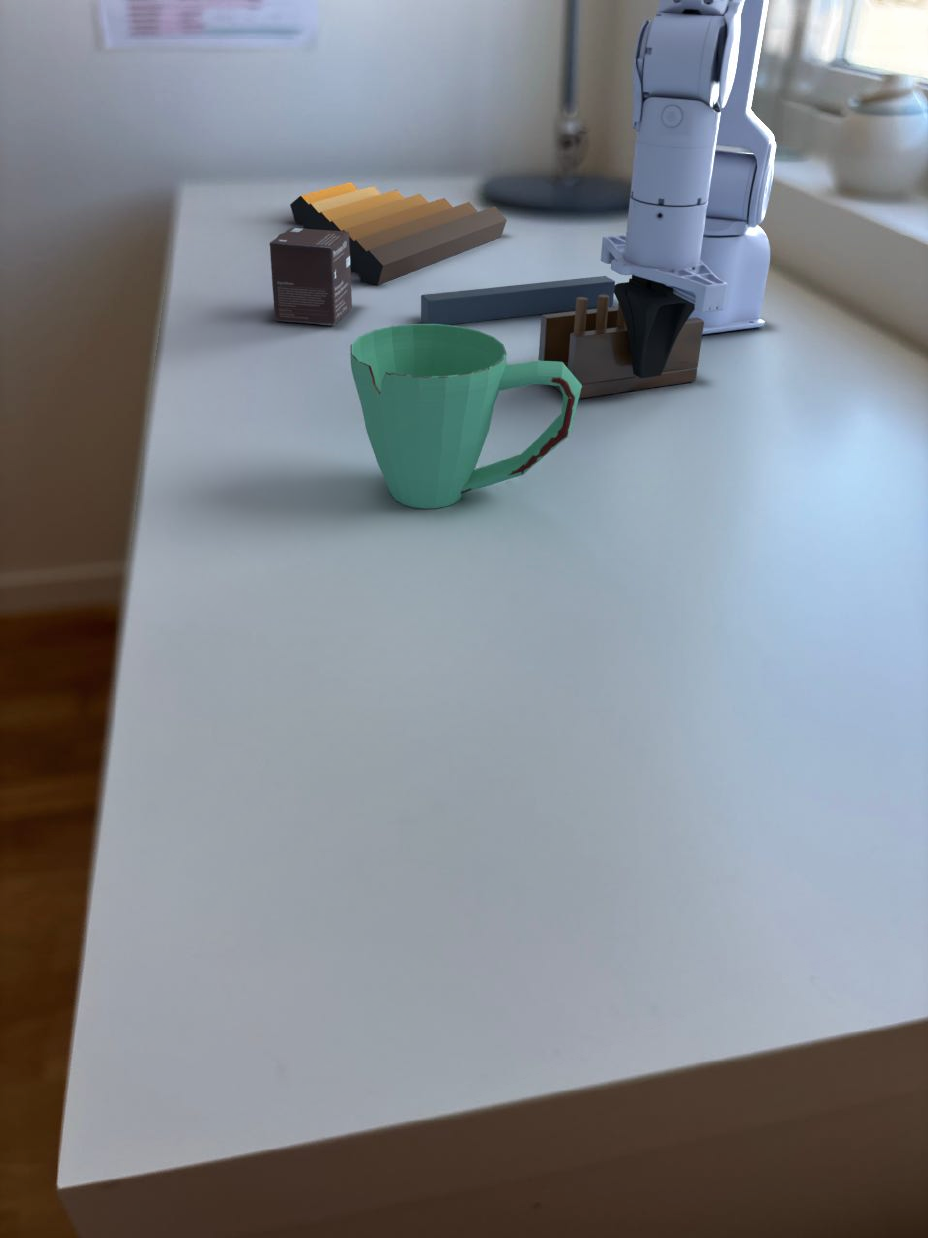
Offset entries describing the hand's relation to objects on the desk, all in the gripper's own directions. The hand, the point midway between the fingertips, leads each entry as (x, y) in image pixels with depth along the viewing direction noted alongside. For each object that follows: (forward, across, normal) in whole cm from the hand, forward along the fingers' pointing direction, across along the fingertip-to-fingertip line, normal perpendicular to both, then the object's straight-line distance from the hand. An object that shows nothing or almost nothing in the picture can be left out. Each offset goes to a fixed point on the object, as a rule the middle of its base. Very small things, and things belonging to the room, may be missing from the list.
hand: (647, 374), depth 88 cm
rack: (+2, -4, 0) cm, 5 cm away
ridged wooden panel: (+2, -53, -6) cm, 54 cm away
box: (+2, -29, -19) cm, 35 cm away
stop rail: (+2, -23, 0) cm, 23 cm away
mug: (+2, +11, -21) cm, 24 cm away
